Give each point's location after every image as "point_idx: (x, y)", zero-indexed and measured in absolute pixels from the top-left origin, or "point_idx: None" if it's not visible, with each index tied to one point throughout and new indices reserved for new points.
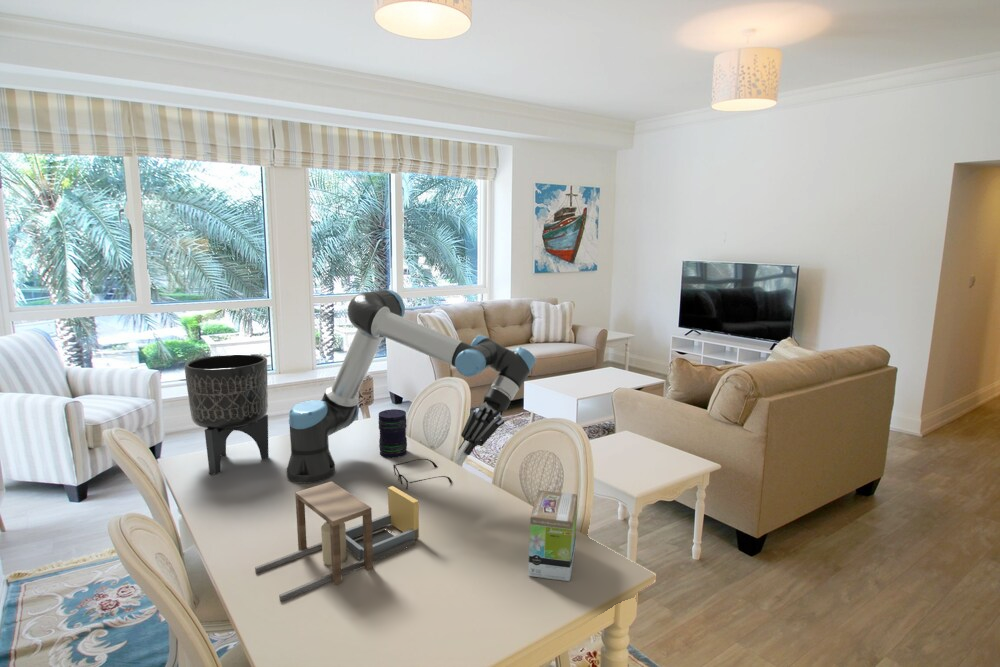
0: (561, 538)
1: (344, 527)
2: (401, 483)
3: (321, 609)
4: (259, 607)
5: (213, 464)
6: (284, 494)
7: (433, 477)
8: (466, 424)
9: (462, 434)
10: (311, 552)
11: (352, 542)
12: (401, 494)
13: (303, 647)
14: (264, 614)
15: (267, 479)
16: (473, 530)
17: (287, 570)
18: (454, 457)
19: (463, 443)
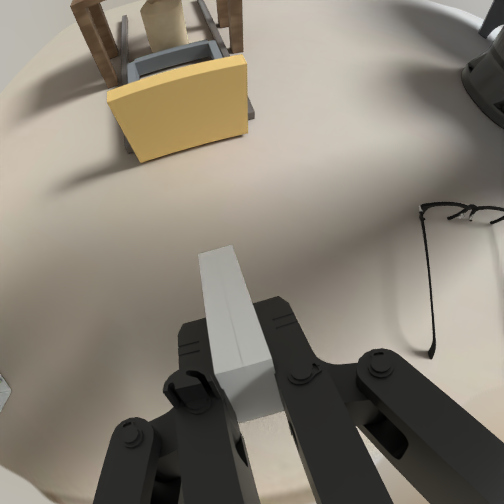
0: None
1: (145, 15)
2: (450, 216)
3: (81, 49)
4: (129, 10)
5: (483, 23)
6: (424, 47)
7: (430, 287)
8: (483, 444)
9: (378, 361)
10: (210, 30)
11: (165, 51)
12: (174, 72)
13: (49, 48)
14: (115, 15)
15: (471, 55)
16: (108, 298)
17: None
18: (232, 253)
19: (258, 331)
